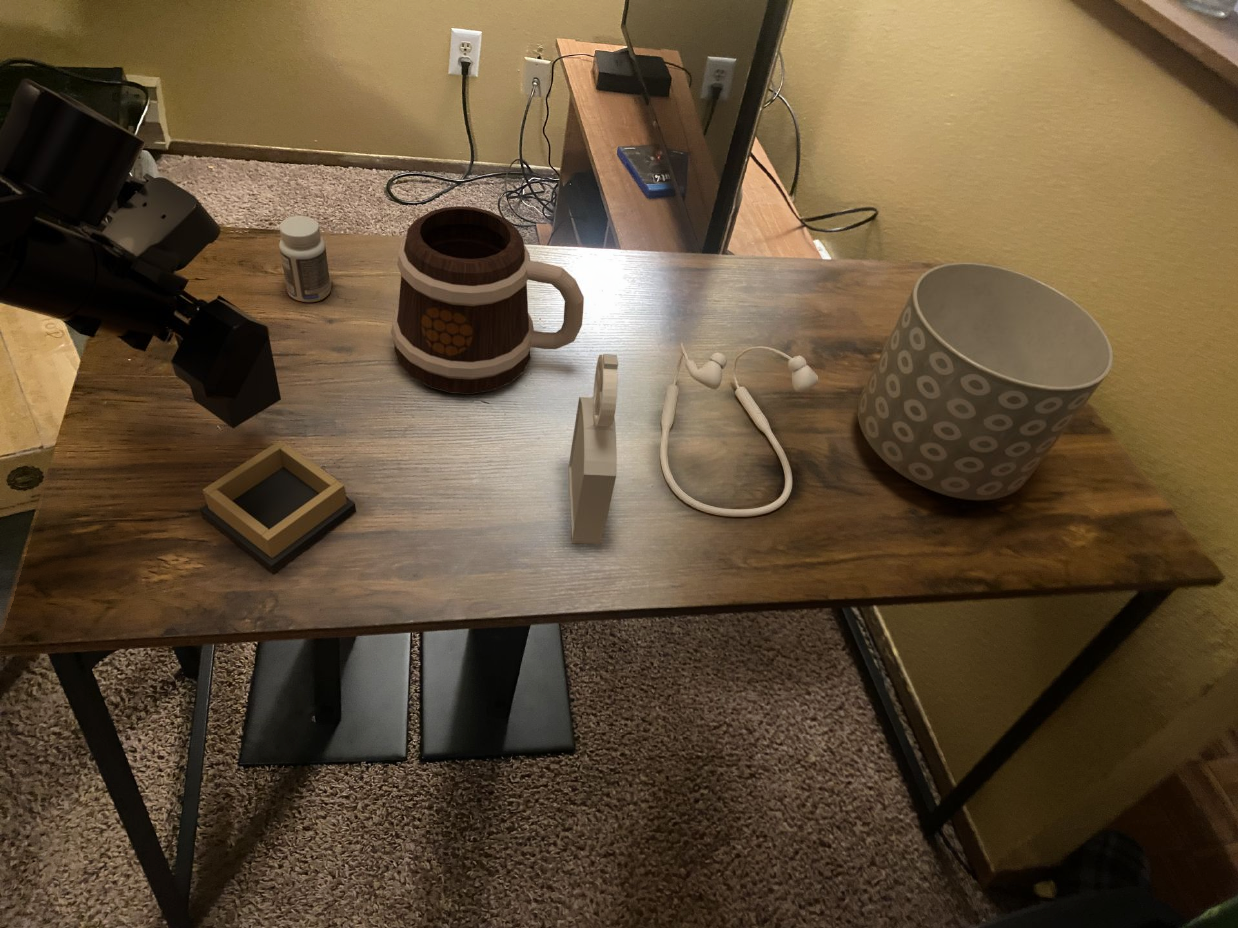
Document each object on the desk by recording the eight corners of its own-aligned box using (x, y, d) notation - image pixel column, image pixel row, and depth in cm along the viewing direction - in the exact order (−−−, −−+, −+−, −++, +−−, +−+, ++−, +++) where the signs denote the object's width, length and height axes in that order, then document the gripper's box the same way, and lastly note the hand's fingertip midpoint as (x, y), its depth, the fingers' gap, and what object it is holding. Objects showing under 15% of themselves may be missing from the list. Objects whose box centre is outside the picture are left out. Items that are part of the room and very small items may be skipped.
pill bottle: (336, 282, 96) (329, 218, 90) (322, 306, 93) (313, 241, 87) (296, 275, 96) (285, 210, 90) (280, 299, 93) (268, 233, 87)
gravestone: (596, 468, 83) (623, 323, 70) (601, 544, 76) (632, 400, 63) (568, 466, 82) (590, 321, 69) (571, 543, 76) (596, 398, 63)
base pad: (273, 574, 69) (266, 547, 66) (202, 517, 72) (192, 489, 69) (356, 511, 75) (353, 484, 72) (287, 461, 77) (281, 433, 75)
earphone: (765, 347, 94) (834, 346, 76) (756, 493, 96) (822, 525, 78) (647, 342, 91) (690, 340, 73) (640, 492, 93) (681, 525, 76)
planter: (820, 397, 95) (880, 262, 82) (962, 388, 100) (1039, 260, 87) (894, 527, 83) (978, 394, 70) (1051, 510, 88) (1156, 383, 75)
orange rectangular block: (233, 429, 70) (214, 356, 65) (193, 400, 72) (171, 327, 66) (282, 399, 73) (268, 327, 68) (243, 372, 75) (226, 300, 69)
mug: (375, 387, 86) (365, 263, 75) (411, 300, 96) (407, 181, 85) (567, 418, 87) (584, 300, 76) (582, 329, 97) (599, 215, 86)
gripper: (218, 225, 51) (367, 298, 65) (33, 110, 56) (209, 201, 71) (133, 384, 51) (299, 420, 66) (-42, 255, 57) (148, 315, 72)
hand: (238, 333), depth 69 cm, fingers closed on orange rectangular block, 5 cm apart
